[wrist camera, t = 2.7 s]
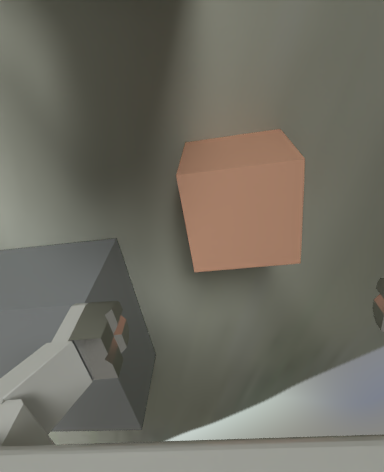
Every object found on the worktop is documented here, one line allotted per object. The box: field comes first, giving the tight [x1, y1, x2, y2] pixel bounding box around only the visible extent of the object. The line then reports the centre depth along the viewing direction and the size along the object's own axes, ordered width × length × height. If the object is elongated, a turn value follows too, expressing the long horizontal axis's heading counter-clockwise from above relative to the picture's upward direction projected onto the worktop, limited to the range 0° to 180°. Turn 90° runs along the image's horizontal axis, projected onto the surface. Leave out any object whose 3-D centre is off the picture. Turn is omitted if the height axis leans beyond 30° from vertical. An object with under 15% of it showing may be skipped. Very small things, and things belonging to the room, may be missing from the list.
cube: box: [176, 129, 305, 272], centre depth 15 cm, size 5×5×5 cm
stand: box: [0, 238, 156, 431], centre depth 21 cm, size 16×12×6 cm
